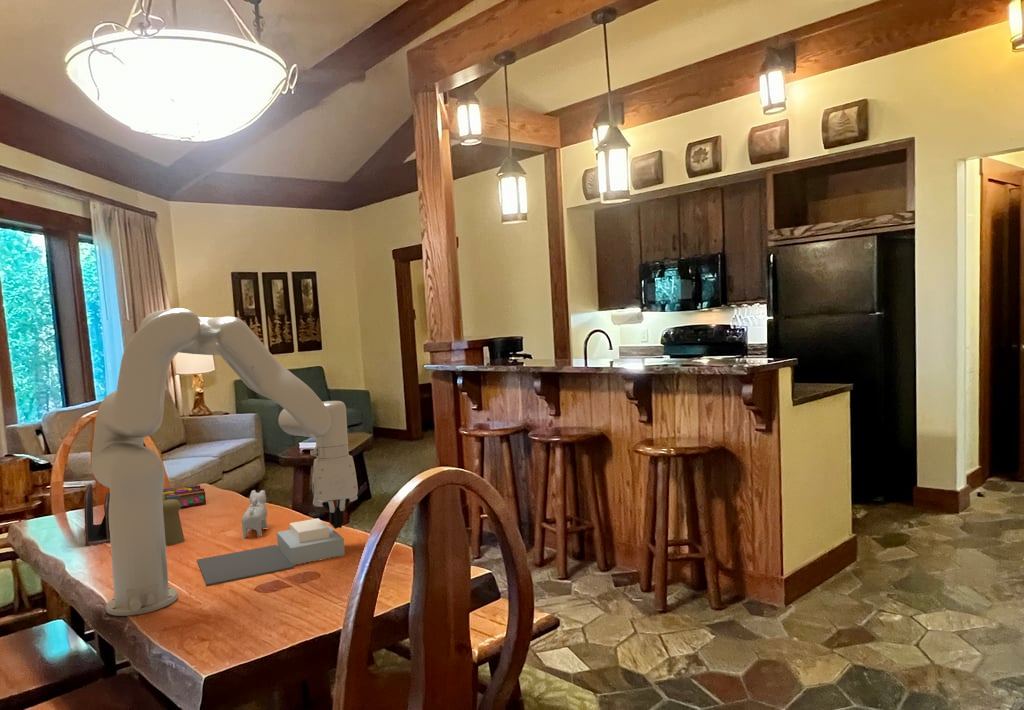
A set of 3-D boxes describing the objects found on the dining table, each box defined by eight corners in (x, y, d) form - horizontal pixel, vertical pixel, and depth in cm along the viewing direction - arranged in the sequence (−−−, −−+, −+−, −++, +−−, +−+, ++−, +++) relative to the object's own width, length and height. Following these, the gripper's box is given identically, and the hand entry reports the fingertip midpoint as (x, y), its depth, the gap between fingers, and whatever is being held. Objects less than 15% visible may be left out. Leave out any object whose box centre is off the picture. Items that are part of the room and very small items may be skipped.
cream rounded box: (329, 537, 166) (329, 527, 166) (299, 542, 162) (298, 532, 162) (318, 527, 175) (318, 518, 175) (290, 533, 171) (289, 523, 171)
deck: (344, 555, 165) (343, 538, 165) (292, 565, 159) (291, 548, 159) (326, 539, 179) (325, 523, 178) (277, 548, 173) (276, 532, 173)
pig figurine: (271, 524, 195) (269, 486, 195) (262, 537, 183) (259, 497, 182) (251, 526, 195) (249, 488, 194) (241, 539, 182) (238, 498, 182)
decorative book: (198, 497, 236) (197, 482, 236) (207, 506, 223) (206, 490, 223) (160, 503, 230) (159, 488, 230) (168, 512, 217) (167, 496, 217)
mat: (294, 568, 157) (294, 566, 157) (206, 586, 148) (206, 584, 148) (276, 546, 174) (276, 544, 174) (197, 561, 166) (196, 559, 166)
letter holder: (85, 547, 183) (81, 493, 182) (91, 529, 200) (87, 480, 200) (129, 540, 187) (125, 487, 187) (131, 523, 205) (127, 475, 204)
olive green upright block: (156, 546, 179) (153, 504, 179) (161, 540, 185) (158, 498, 185) (182, 543, 181) (179, 501, 180) (186, 537, 187) (183, 496, 186)
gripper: (304, 458, 164) (309, 536, 165) (367, 450, 171) (371, 524, 172) (297, 454, 171) (302, 529, 171) (358, 446, 178) (362, 518, 179)
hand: (337, 526), depth 172 cm, fingers closed
